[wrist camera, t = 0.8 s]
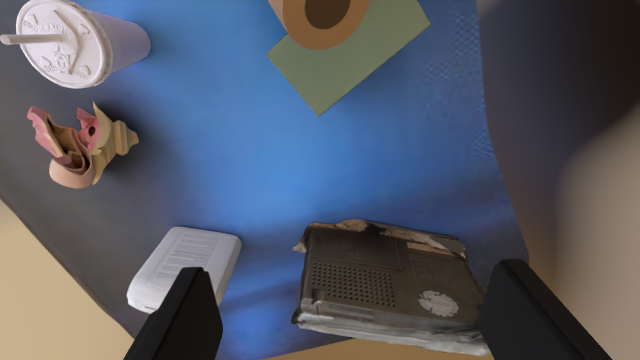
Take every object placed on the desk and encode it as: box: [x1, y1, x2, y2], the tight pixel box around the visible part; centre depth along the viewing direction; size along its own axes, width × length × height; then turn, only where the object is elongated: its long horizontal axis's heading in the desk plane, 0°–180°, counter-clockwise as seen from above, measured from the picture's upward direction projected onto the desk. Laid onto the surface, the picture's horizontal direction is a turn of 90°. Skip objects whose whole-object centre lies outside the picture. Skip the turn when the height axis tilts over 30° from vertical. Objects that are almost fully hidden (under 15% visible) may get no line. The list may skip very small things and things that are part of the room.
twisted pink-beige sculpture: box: [27, 102, 139, 188], centre depth 33 cm, size 9×10×10 cm
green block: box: [266, 0, 431, 117], centre depth 28 cm, size 7×12×7 cm, turn 129°
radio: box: [291, 218, 491, 356], centre depth 37 cm, size 23×9×15 cm, turn 75°
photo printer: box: [127, 227, 242, 314], centre depth 37 cm, size 10×4×12 cm, turn 79°
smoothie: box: [0, 0, 151, 89], centre depth 25 cm, size 6×6×14 cm
